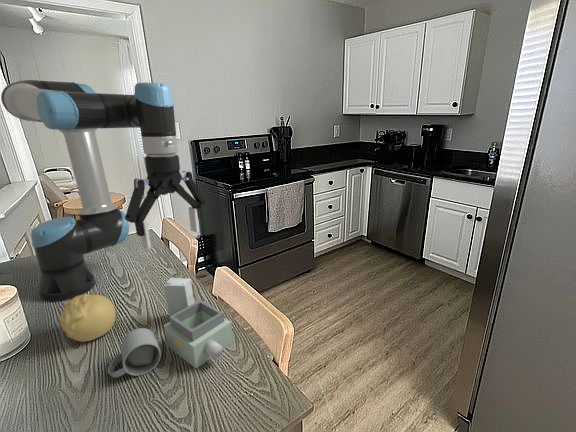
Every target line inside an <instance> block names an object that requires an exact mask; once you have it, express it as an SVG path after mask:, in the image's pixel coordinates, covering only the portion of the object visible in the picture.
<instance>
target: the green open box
mask: <svg viewBox="0 0 576 432" xmlns="http://www.w3.org/2000/svg"><path fill="white" fill-rule="evenodd" d="M168 318H169V321H168V322H167V323H165V324H164V325H163V328H164V336H165V342H166V346H167V347H168V348H169V349H170V350H172V351H173V353H176V354H177V355H178V356H179V357H181V358H182V359H183V360H184V361H186V363H188V364H189V365H190V366H192V367H193V368H195V369H198V368H199V367H201V366H202V365H204V363H206V362H208V361H209V360H211V358H212V359H218V358H219V357H221V354H222V353H223V350H224V349H225V348H227V347H228V346H230V344H232V343H234V341H233V325H232V321H231V320H229V319H227V318H226V317H225V313H224V312H223V311H221V310H219V309H218V308H216V307H214V306H212V305H211V304H209V303H207V301H204V300H202V299H200V300H198V301H195V302H194V304H192V305H190V306H189V307H187V308H185V309H183V310H181V311H179V312H177V313H176V314H174V315H172V316H170V317H168Z"/></svg>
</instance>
